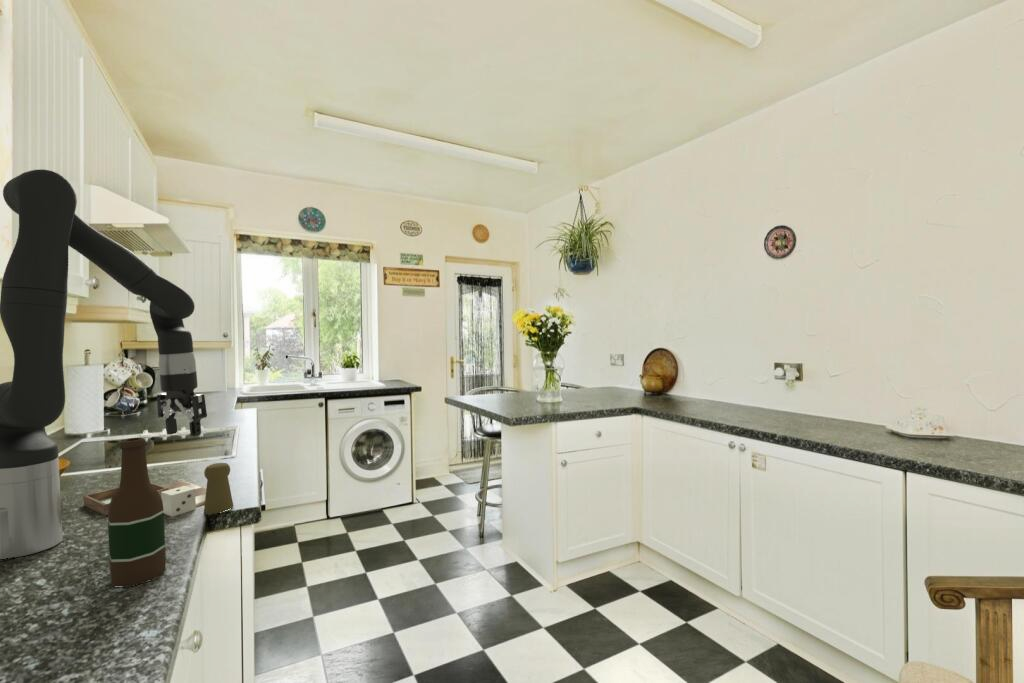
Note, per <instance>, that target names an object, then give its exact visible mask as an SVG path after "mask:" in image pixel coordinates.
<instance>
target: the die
mask: <svg viewBox="0 0 1024 683" xmlns="http://www.w3.org/2000/svg"><path fill="white" fill-rule="evenodd" d="M161 499H162V502H163V509H164V515H167V516H169V517H175V516H178V515H182V514H185V513H188V512H191V511H192V512H193V511H194V510H196V509H197V506H196V502H195V489H194V488H191V487H188V486H182V487H178V488H174V489H170V490H167V491H163V492H161Z"/></svg>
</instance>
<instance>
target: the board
mask: <svg viewBox="0 0 1024 683" xmlns="http://www.w3.org/2000/svg"><path fill="white" fill-rule="evenodd" d="M162 486H164V487H167V488H168V490H170V489H174V488H178V487H182V486H188V487H191V488H194V489H195V502H196V507H200V506H203V505H204V506H205V497H206V488H207V487H203V486H200V485H197V484H193V483H191V482H187V481H184V480H179V481H174V482H170V483H167V484H164V485H162Z"/></svg>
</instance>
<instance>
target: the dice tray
mask: <svg viewBox="0 0 1024 683" xmlns="http://www.w3.org/2000/svg"><path fill="white" fill-rule="evenodd" d="M150 484H151V485H152V486H153V487H154V488H155V489H156V490H157V491H158V493H159V495H160V497H161V492H163V491H167V490H168V488H167V487H164V486H163V485H161V484H158V483H155V482H151V481H150ZM118 489H119V486H117V487H113V488H109V489H105V490H102V491H97V492H94V493H89V494H85V495H83V496H82V497H83V506H84V507H86V508H88V509H90V510H92V511H94V512H96V513H99V514H100V515H102V516H108V507H109V504H110V502H111V499H112V497H113V496H114V494H115V493H116V492H117V490H118Z"/></svg>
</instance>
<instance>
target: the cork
mask: <svg viewBox="0 0 1024 683" xmlns="http://www.w3.org/2000/svg"><path fill="white" fill-rule="evenodd" d="M230 472H231V467H230V465H229V463H227V462H217V463H215V462H214V463H212V464H209V465H207V466H206V467H205V468H204V472H203V473H204V474H203V475H204V478H205V479H206V480H207V482H206V487H205V488H206V497H205V504H204V508H203V514H204V515H207V514H208V515H209V516H210V515H211V516H213V515H212V514H215V515H218V514H217V513H220V512H223V511H225V510H228V509H230V508H232V507H233V506H234V502H233V496H232V491H231V486H230V480H229V477H228V476H229V475H230ZM233 508H234V507H233Z"/></svg>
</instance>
